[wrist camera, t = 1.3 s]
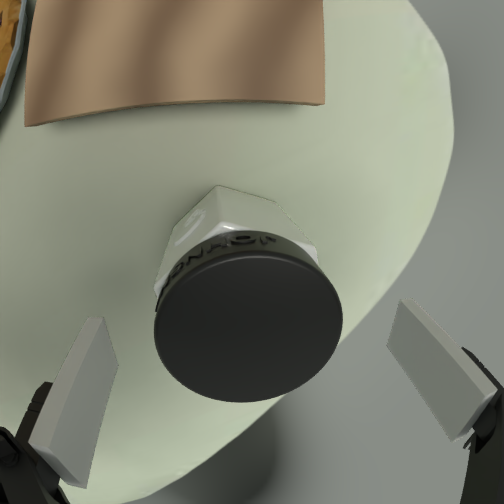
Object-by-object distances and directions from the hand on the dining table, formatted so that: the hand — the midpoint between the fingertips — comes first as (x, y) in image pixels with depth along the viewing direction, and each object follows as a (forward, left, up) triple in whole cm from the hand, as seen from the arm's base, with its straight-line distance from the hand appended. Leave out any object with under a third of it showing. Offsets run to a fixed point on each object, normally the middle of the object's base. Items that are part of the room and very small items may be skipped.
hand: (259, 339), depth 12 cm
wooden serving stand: (-4, +19, -12) cm, 23 cm away
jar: (0, 0, -12) cm, 12 cm away
